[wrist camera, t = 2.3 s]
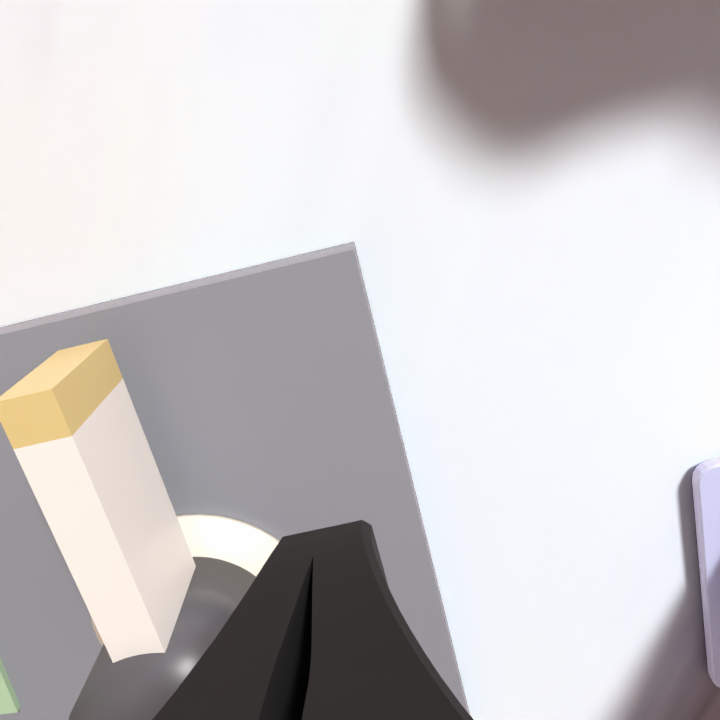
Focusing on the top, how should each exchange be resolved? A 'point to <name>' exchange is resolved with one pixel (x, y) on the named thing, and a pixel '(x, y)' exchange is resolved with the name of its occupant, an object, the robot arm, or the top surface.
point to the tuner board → (223, 451)
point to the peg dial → (116, 532)
